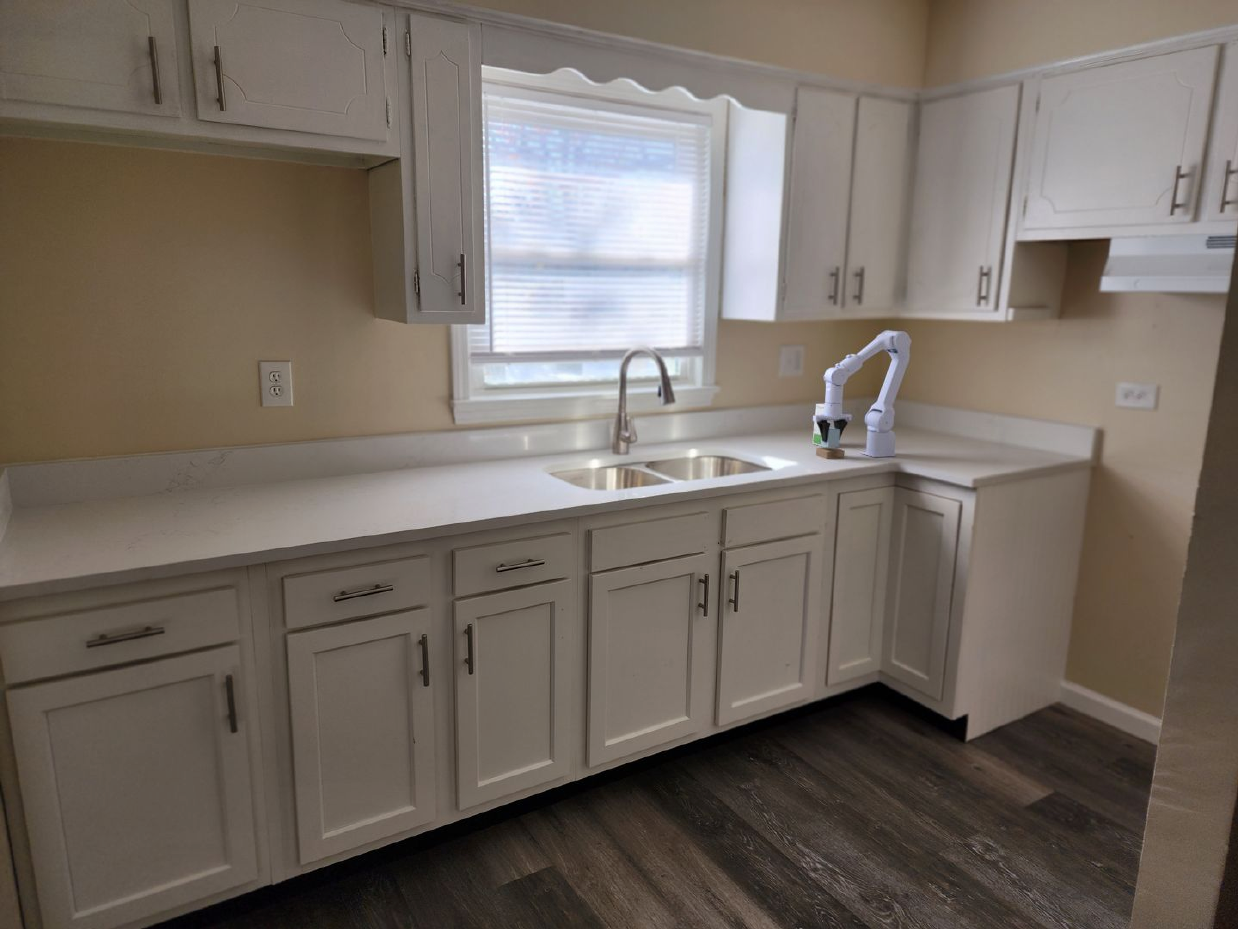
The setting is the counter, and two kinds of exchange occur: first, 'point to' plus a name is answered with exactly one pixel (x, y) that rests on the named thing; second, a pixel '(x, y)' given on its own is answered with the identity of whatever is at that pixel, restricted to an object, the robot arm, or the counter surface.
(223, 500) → the counter surface
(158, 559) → the counter surface
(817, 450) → the walnut base
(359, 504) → the counter surface
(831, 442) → the blue block
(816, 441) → the skincare box
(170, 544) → the counter surface
